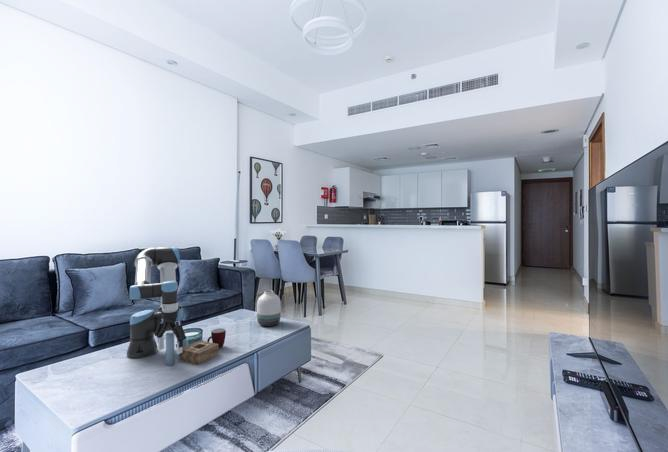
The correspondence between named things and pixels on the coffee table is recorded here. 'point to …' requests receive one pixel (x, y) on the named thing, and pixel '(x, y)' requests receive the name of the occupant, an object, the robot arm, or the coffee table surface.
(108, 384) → the coffee table surface
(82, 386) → the coffee table surface
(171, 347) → the peg
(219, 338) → the mug
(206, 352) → the socket block
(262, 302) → the vase
